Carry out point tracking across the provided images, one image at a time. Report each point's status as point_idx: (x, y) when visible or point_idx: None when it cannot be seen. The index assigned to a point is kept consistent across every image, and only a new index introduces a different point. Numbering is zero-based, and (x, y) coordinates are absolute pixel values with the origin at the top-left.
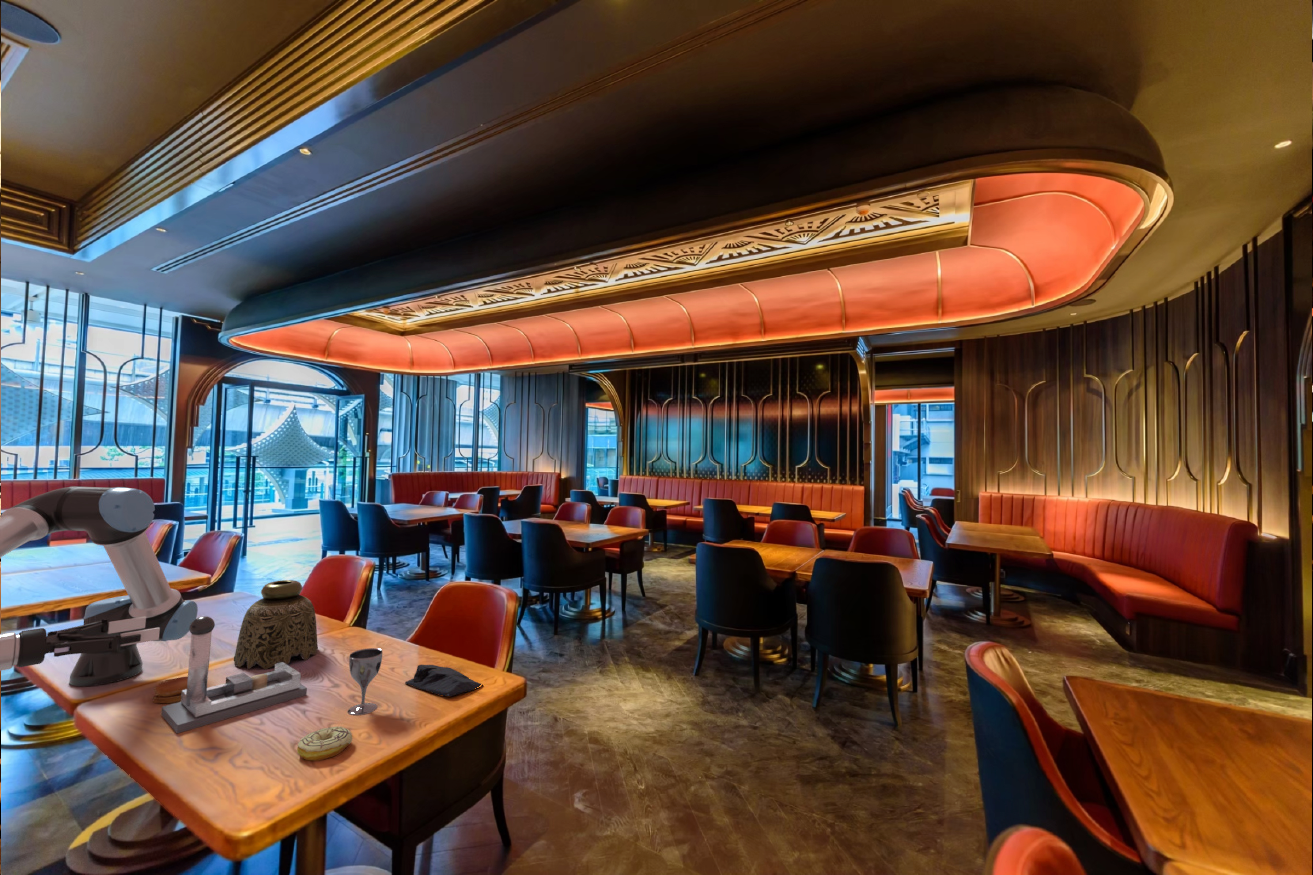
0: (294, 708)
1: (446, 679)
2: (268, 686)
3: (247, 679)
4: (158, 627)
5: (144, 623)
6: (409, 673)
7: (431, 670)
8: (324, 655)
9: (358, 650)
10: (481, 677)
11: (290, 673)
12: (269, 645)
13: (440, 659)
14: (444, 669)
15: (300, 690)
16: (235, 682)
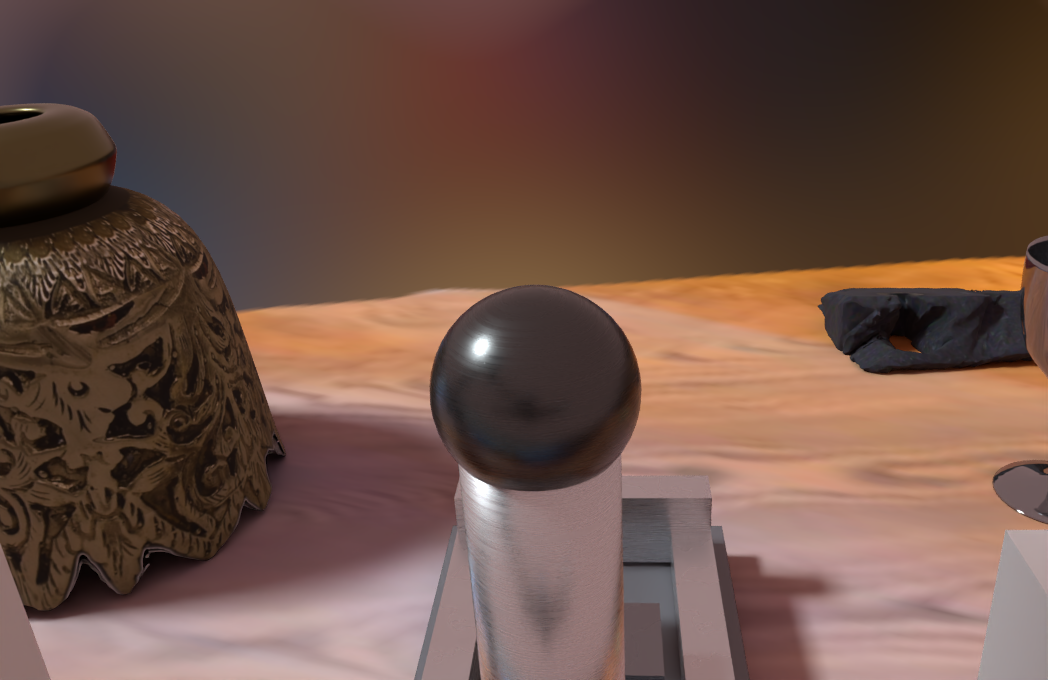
0: (863, 624)
1: None
2: (677, 598)
3: (637, 618)
4: (1010, 536)
5: (24, 633)
6: (771, 347)
7: (939, 297)
8: (306, 415)
9: (1034, 261)
10: (968, 282)
11: (671, 496)
12: (181, 448)
13: (712, 288)
14: (894, 291)
15: (725, 547)
16: (637, 667)
